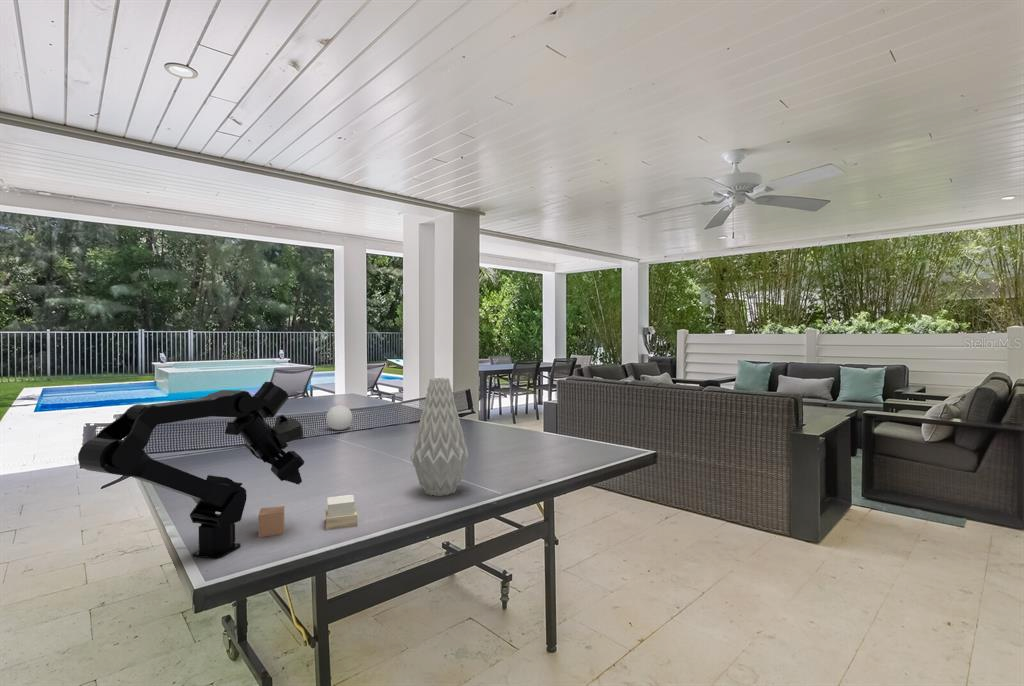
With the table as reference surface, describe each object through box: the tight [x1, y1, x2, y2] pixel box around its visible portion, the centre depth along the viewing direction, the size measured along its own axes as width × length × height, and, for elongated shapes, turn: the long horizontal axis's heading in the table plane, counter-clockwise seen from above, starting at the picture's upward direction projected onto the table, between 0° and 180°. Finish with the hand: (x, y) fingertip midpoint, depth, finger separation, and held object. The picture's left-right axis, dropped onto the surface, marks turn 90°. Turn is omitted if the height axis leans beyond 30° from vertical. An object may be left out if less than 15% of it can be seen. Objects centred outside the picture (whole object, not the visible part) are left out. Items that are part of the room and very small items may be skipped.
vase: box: [410, 377, 470, 497], centre depth 147 cm, size 17×17×33 cm
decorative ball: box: [326, 404, 353, 431], centre depth 248 cm, size 12×12×12 cm
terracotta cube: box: [257, 505, 286, 538], centre depth 117 cm, size 5×5×5 cm
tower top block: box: [326, 494, 356, 518], centre depth 123 cm, size 6×6×3 cm
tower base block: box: [325, 505, 358, 531], centre depth 123 cm, size 7×7×3 cm
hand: (291, 474), depth 125 cm, fingers open, 9 cm apart
